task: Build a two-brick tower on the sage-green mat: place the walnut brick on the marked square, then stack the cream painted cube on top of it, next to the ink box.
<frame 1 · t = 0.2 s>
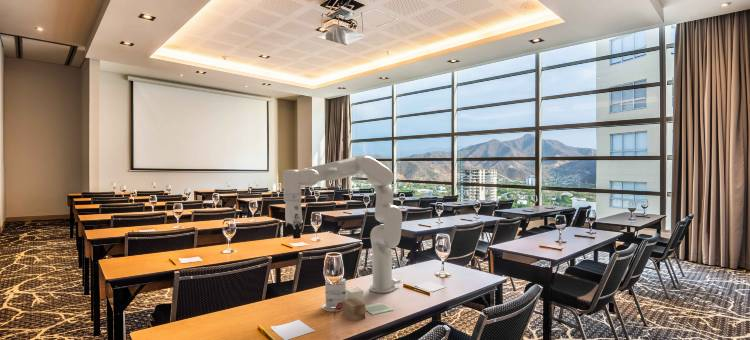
hand: (293, 236, 174), 31 cm above the table, fingers open, 9 cm apart
cream brick: (354, 303, 178), on the table
ink box: (336, 307, 174), on the table
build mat: (377, 309, 170), on the table
walnut brick: (353, 316, 163), on the table
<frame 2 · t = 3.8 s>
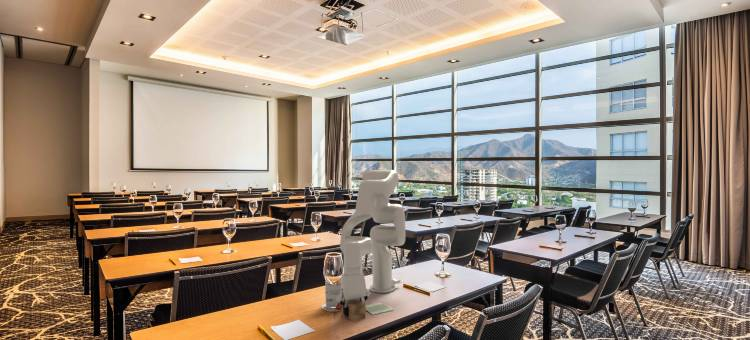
hand: (353, 313, 163), 1 cm above the table, fingers closed on walnut brick, 6 cm apart
walnut brick: (353, 316, 163), on the table, touching gripper
everything else where it was.
when the fingers open (2 cm above the table, at t = 8.9 s): walnut brick stays where it is, resting on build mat.
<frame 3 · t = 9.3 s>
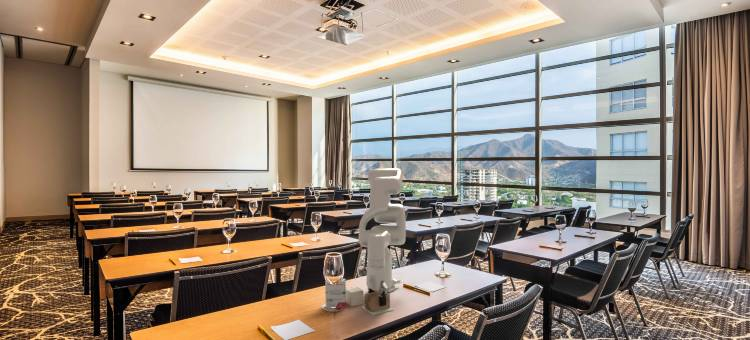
hand: (377, 302, 170), 3 cm above the table, fingers open, 9 cm apart
walnut brick: (377, 307, 170), resting on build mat
everything else where it was.
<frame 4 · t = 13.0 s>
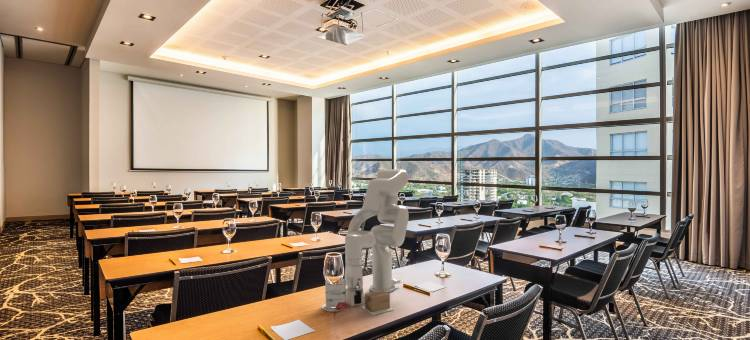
hand: (354, 300, 178), 1 cm above the table, fingers closed on cream brick, 6 cm apart
cream brick: (354, 302, 178), on the table, touching gripper
everything else where it was.
when the fingers open (8 cm above the table, at t = 17.5 s): cream brick stays where it is, resting on walnut brick.
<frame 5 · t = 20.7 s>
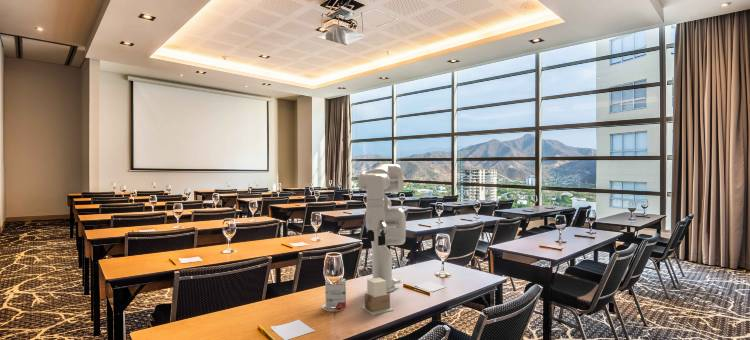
hand: (376, 243, 170), 28 cm above the table, fingers open, 9 cm apart
cream brick: (376, 294, 170), point 6 cm above the table, touching walnut brick
walnut brick: (377, 307, 170), resting on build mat, touching cream brick
everything else where it was.
at the end: walnut brick inside the target area on the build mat (0.1 cm from its centre), point 0.4 cm above the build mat's base; cream brick 0.1 cm off-centre on the walnut brick, point 6.0 cm above the walnut brick's base; cream brick tilted 0° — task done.
